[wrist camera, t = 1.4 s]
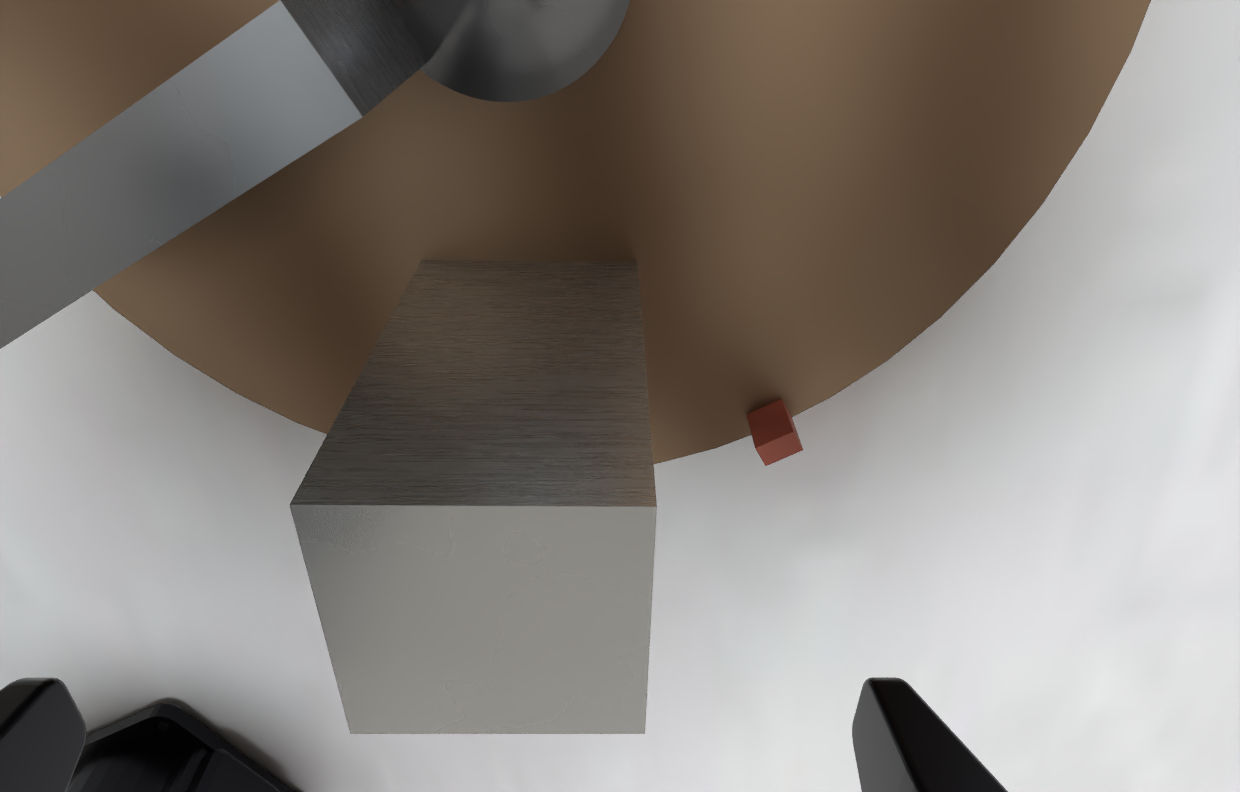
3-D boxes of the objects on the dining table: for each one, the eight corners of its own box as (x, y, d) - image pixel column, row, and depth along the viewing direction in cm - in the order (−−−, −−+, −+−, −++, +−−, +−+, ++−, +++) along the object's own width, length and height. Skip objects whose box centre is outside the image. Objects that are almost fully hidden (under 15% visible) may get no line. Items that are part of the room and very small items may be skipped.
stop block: (632, 439, 17) (644, 734, 11) (443, 438, 17) (350, 733, 11) (637, 262, 15) (656, 507, 9) (421, 260, 14) (290, 504, 9)
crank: (549, -268, 10) (505, -396, 6) (676, 2, 12) (713, 56, 8) (-12, 146, 13) (-322, 266, 9) (155, 319, 15) (-34, 490, 10)
